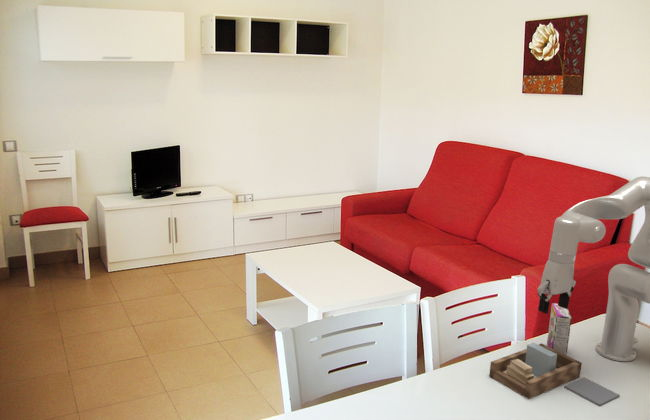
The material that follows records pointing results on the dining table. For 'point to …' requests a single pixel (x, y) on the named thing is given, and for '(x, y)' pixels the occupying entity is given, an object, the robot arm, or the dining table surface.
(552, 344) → the candy bar box
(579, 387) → the felt pad
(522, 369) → the offcut
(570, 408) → the dining table surface
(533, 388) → the tray
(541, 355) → the block
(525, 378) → the offcut
